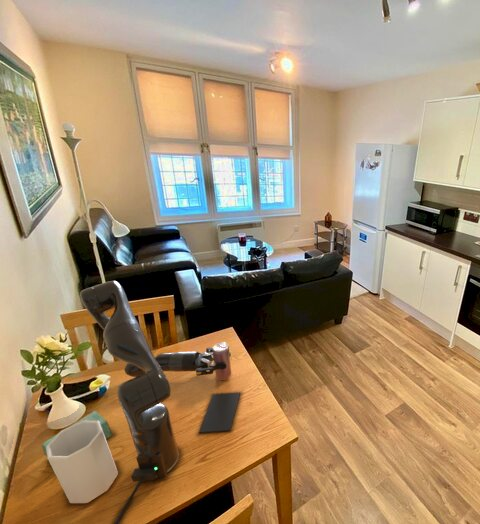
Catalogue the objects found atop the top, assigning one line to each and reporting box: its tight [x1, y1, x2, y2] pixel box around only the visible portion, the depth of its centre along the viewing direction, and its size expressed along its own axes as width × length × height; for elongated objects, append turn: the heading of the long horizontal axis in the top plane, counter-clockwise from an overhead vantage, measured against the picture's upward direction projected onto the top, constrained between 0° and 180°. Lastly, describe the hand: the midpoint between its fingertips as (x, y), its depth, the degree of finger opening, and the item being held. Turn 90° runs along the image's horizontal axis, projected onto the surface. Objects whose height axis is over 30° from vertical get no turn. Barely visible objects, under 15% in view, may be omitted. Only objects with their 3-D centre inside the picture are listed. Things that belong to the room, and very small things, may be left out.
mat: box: [199, 392, 241, 434], centre depth 105 cm, size 16×10×1 cm, turn 8°
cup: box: [46, 421, 119, 504], centre depth 78 cm, size 11×11×18 cm
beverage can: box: [212, 341, 232, 381], centre depth 117 cm, size 6×6×15 cm
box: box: [41, 410, 113, 458], centre depth 89 cm, size 7×14×8 cm, turn 153°
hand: (228, 360), depth 118 cm, fingers closed on beverage can, 6 cm apart
